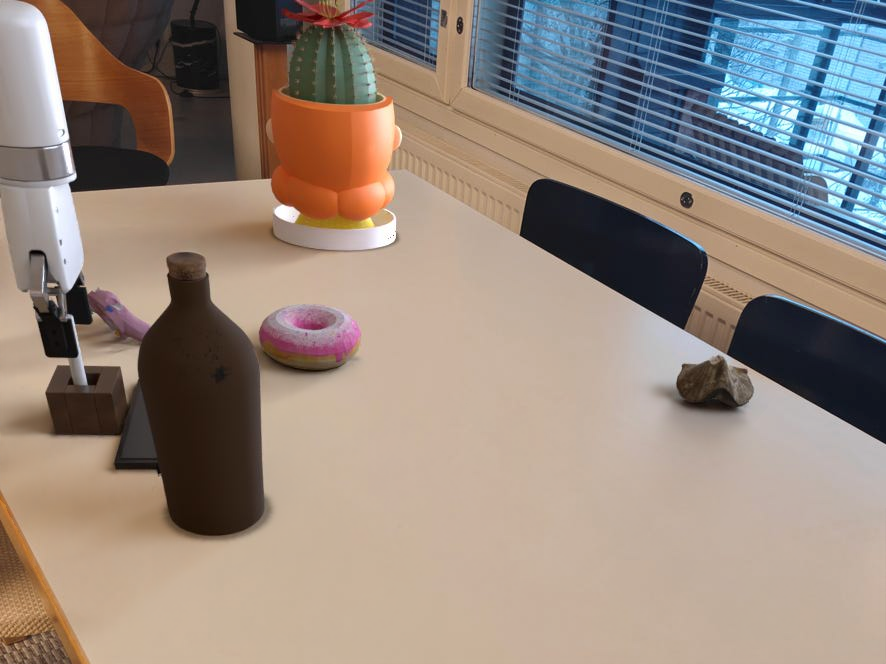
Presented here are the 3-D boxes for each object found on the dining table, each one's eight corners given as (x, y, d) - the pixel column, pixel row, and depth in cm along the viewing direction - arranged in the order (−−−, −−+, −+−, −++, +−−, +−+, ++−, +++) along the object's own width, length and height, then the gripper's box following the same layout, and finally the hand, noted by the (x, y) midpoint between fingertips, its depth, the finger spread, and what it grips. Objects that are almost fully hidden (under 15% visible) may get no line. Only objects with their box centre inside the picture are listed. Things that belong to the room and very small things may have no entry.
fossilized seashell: (756, 377, 122) (682, 373, 124) (759, 345, 116) (681, 341, 118) (748, 424, 119) (673, 418, 122) (751, 394, 113) (672, 389, 116)
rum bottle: (291, 501, 93) (275, 254, 77) (229, 552, 85) (198, 291, 69) (206, 473, 96) (174, 228, 79) (139, 520, 88) (89, 260, 72)
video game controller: (103, 333, 123) (70, 291, 117) (128, 312, 124) (98, 270, 118) (136, 359, 118) (103, 317, 112) (162, 338, 118) (132, 295, 113)
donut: (291, 326, 126) (290, 291, 123) (377, 346, 124) (378, 311, 121) (242, 361, 117) (238, 324, 113) (334, 384, 114) (333, 346, 111)
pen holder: (55, 434, 99) (44, 392, 96) (66, 405, 104) (57, 364, 101) (119, 434, 100) (111, 393, 97) (128, 406, 105) (120, 366, 102)
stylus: (80, 422, 101) (57, 318, 93) (83, 416, 102) (60, 313, 94) (93, 422, 102) (71, 319, 94) (95, 417, 103) (74, 314, 95)
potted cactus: (271, 216, 162) (257, -21, 139) (393, 221, 166) (399, -9, 143) (273, 257, 146) (256, -2, 123) (407, 261, 151) (416, 11, 128)
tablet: (115, 469, 95) (113, 461, 94) (139, 385, 109) (138, 377, 109) (222, 469, 97) (221, 461, 96) (231, 386, 111) (231, 378, 111)
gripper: (10, 135, 90) (49, 307, 101) (-38, 184, 77) (14, 374, 89) (88, 139, 91) (119, 309, 103) (54, 188, 78) (93, 376, 90)
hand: (70, 338), depth 96 cm, fingers open, 8 cm apart
